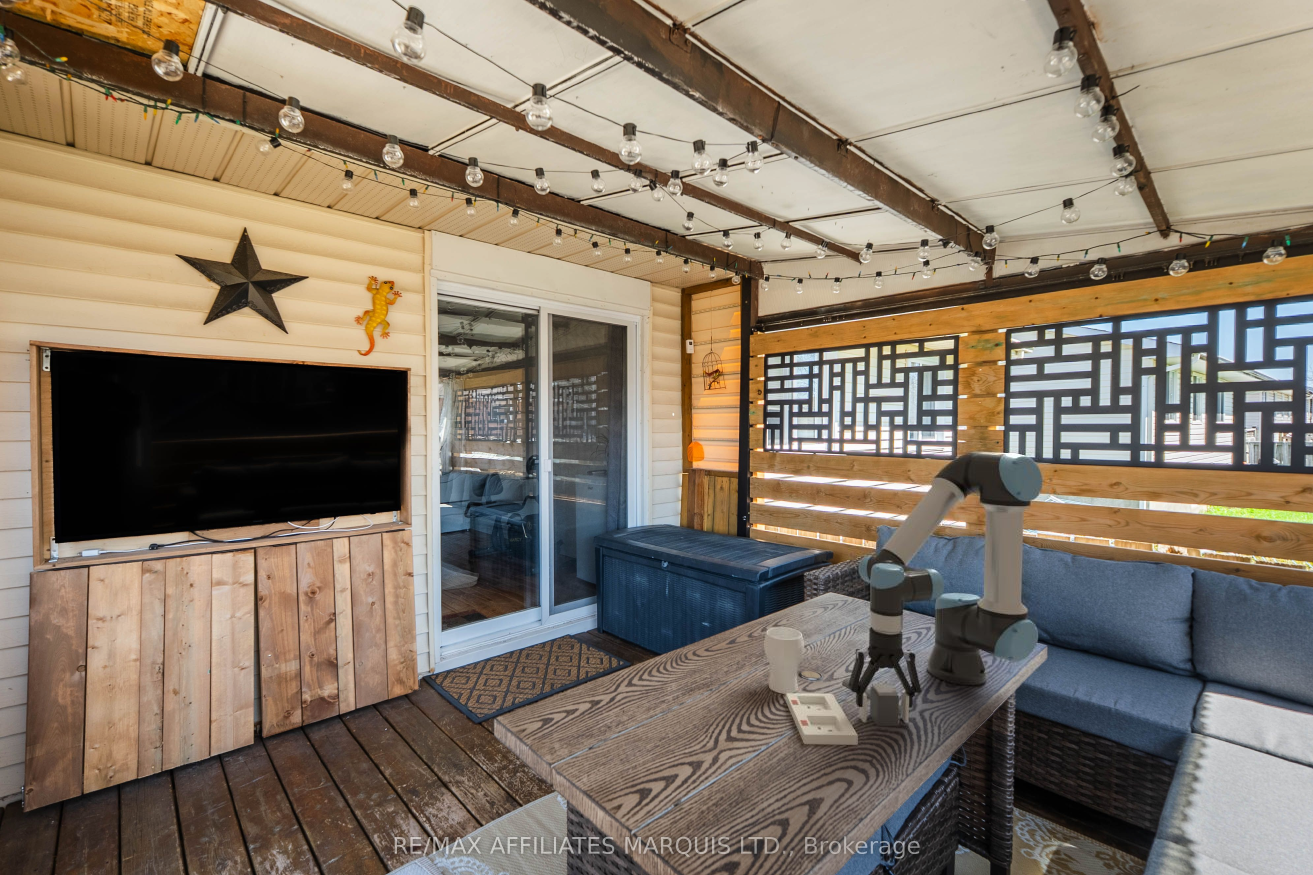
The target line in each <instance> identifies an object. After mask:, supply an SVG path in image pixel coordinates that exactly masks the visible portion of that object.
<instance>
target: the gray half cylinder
mask: <svg viewBox="0 0 1313 875" xmlns="http://www.w3.org/2000/svg"><path fill="white" fill-rule="evenodd" d="M849 681H850V678H845V679H843V681H841V685H842V686H843V687H846V688H847V689H849V690H851V689H850V688H849V686H848V684H849ZM864 693H865V694H866V695H867V700H869V701H870V688H868V687H867V689H866V690H865V692H864ZM898 716H901V704H899V712H898Z"/></svg>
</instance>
